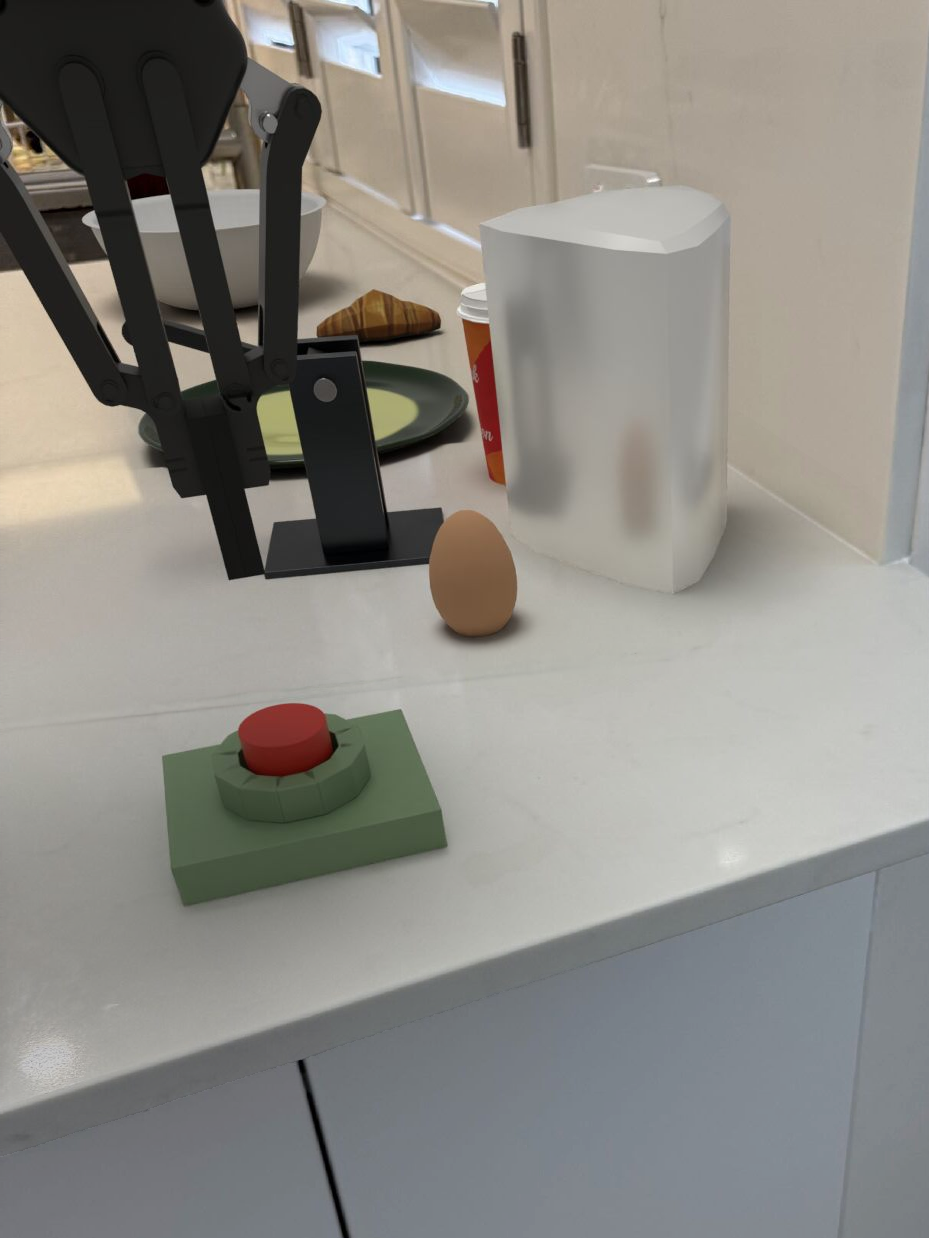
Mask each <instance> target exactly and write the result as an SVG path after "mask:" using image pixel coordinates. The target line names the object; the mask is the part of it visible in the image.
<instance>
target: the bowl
mask: <svg viewBox="0 0 929 1238" xmlns="http://www.w3.org/2000/svg"><path fill="white" fill-rule="evenodd" d="M207 195H208V199H209V204H210V209H211V214H212V218H213V222H214V227H215V231H216V235H217V240H218V244H219V248H220V253H221V257H222V261H223V265H224V270H225V274H226V278H227V283H228V287H229V291H230V296H231V300H232V304H233V309H234V310H238V309H245V308H249V307H255V306H258V289H259V198H260V188H257V189H256V188H254V189H253V188H246V189H244V188H243V189H242V188H241V189H240V188H239V189H217V190H216V189H215V190H207ZM131 201H132V205H133V209H134V213H135V217H136V220H137V224H138V228H139V232H140V236H141V240H142V243H143V247H144V251H145V255H146V259H147V262H148V266H149V270H150V274H151V278H152V282H153V285H154V289H155V293H156V297H157V301H158V302H161V303H163V304H165V305H169V306H172V307H174V308H179V309H183V310H184V309H185V310H192V311H199V309H198V305H197V301H196V297H195V293H194V289H193V285H192V281H191V277H190V273H189V269H188V265H187V261H186V257H185V253H184V249H183V245H182V241H181V237H180V233H179V229H178V225H177V220H176V216H175V212H174V208H173V204H172V200H171V197H170V194H163V195H156V196H155V195H154V196H149V197H143V198H136V199H131ZM327 203H328V201H327V199H326V198H324V197H323V196H321V195H318V194H315V193H311V192H307V191H302V195H301V231H300V267H299V281H300V280H301V279H302V278H303V276H304V275H305V274H306V272H307V270H308V269H309V267H310V265H311V263H312V261H313V259H314V256H315V254H316V251H317V247H318V243H319V239H320V234H321V228H322V214H323V213H322V210H323V208H325V207H326V205H327ZM81 221H82V224H84V225H86V226H87V227H89V228H90V229H91V231H92V233H93V235H94V237H95V238H96V240H97V243H98V244H99V245H100V247H101V249H102V251H103V252H104V253H105V255H107V252H106V249H105V245H104V242H103V238H102V235H101V231H100V227H99V224H98V220H97V217H96V214H95V211H94V210H92V211H89V212H88V213H85V214H84V216H83V217H82V218H81Z"/></svg>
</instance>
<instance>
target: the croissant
mask: <svg viewBox="0 0 929 1238" xmlns="http://www.w3.org/2000/svg"><path fill="white" fill-rule="evenodd" d="M441 326H442V319H441V316H440V313H439V311H435V310H434V309H432V308H430V307H428V306H425V305H422V304H419V303H416V302H412V301H409V300H408V301H407V300H401V299H400V298H398V297H396V296H394V295H392V294H389V293H386V292H384V291H380V290H377V289H371V290H370V291H368V292H366V293H364V295H363V294H362V296H360V297H358V298H356V299H355V300H354V301H353V302H352V303H351V304H350V306H347V307H344V308H342V309H340V310H338V311H337V312H334V313H333V314H332V315H329V316H328V317H326V318H325V319H324V320H323V321H321V322H320V323H319V324H318V325H317V326H316V338H320V337H334V336H349V335H358V340H359V343H365V342H377V341H378V342H380V341H381V342H382V341H390V340H394V339H398V338H405V337H411V336H418V335H423V334H429V333H432V332H435V331H438V330H440V329H441V328H442V327H441Z"/></svg>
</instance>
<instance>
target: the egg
mask: <svg viewBox="0 0 929 1238" xmlns="http://www.w3.org/2000/svg"><path fill="white" fill-rule="evenodd" d="M443 521H444V523H443V524H442V525H441V527H440V528H439V530H438V532H437V535H436V537H435V540H434V543H433V547H432V551H431V555H430V559H429V564H428V577H429V589H430V593H431V597H432V601H433V604H434V606H435V608H436V610H437V612H438V614H439V616H440V617H441V618H442V620H443V621H444V622H445V623H446V625H448V626H449V627H450V628H451V629H452V630H453V631H454V632H455V633H457V634H458V635H461V636H466V637H472V638H473V637H486V636H489V635H492V634H493V635H494V634H496V633H498V632H499V631H501V630H502V629H504V627H505V626H506V625H507V623H508V622H509V621H510V619H511V617H512V615H513V612H514V609H515V607H516V604H517V597H518V577H517V570H516V566H515V562H514V558H513V555H512V551H511V549H510V548H509V546H508V544H507V542H506V540H505V538H504V536H503V534H502V533H501V532H500V530H499V529H498V527H497V526H496V525H495V524H494V522H492V520H491V519H489V518H488V517H487V516H485V515H483V514H481V513H480V512H478V511H475V510H472V509H461V510H458V511H456V512H454V513H452V514H451V515H450V516H448V517H447V518H446V519H445V520H443Z"/></svg>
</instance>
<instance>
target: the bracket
mask: <svg viewBox="0 0 929 1238" xmlns="http://www.w3.org/2000/svg"><path fill="white" fill-rule="evenodd" d="M309 347H310V348H314V349H317V350H320V351H324V352H327V353H324V354H310V355H307V352H308V348H309ZM362 360H363V358H362V353H361V345H360V342H359V340H358V335H349V336H334V337H320V338H318V337H309V338H298V339H297V371H296V376H295V378H294V379H293V380H292V382H290V383H288V385H289V390H290V395H291V400H292V405H293V410H294V414H295V419H296V424H297V429H298V434H299V439H300V443H301V448H302V453H303V458H304V463H305V467H304V468H305V471H306V476H307V481H308V486H309V491H310V496H311V500H312V501H311V502H312V506H313V509H314V516H315V518H305V519H295V520H283V521H274V522H273V523H272V530H271V534H270V540H269V544H268V545H269V546H268V551H267V556H266V561H265V565H264V571H265V574H264V575H263V576H264V580H275V579H284V578H294V577H295V578H296V577H307V576H316V575H327V574H337V573H350V572H359V571H369V570H381V569H391V568H392V569H393V568H403V567H413V566H423V565H429V559H430V555H431V551H432V547H433V543H434V540H435V537H436V535H437V532H438V530H439V528H440V527H441V525H442V524H443V523H444V521H445V520H444V513H443V508H442V507H428V508H417V509H408V510H407V509H406V510H395V511H388V506H387V500H386V495H385V489H384V488H385V487H384V483H383V482H384V481H383V477H382V472H381V466H380V460H379V455H378V453H377V447H376V441H375V435H374V429H373V423H372V417H371V411H370V405H369V399H368V394H367V388H366V382H365V376H364V370H363V364H362Z"/></svg>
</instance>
